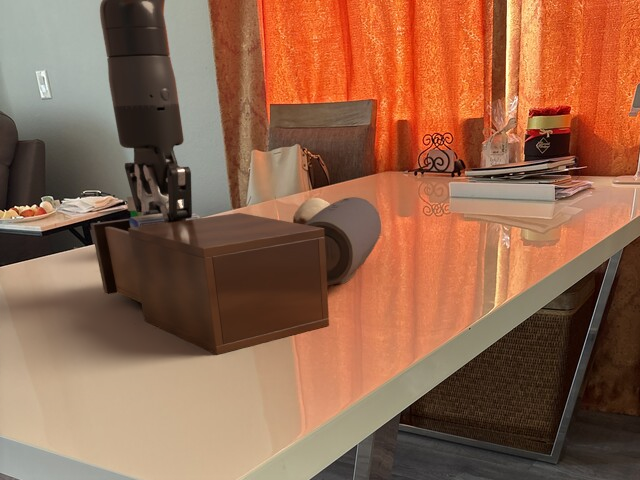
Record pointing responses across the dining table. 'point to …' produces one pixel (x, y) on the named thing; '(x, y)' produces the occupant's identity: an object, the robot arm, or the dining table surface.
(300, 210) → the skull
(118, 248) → the drawer
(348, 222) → the bluetooth speaker
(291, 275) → the cabinet
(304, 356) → the dining table surface
